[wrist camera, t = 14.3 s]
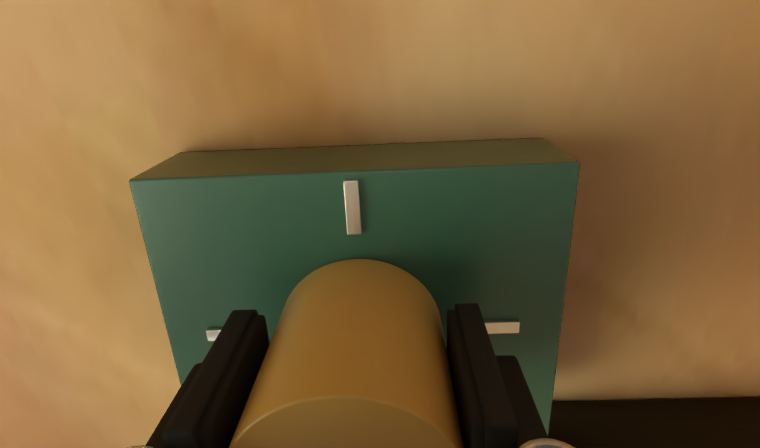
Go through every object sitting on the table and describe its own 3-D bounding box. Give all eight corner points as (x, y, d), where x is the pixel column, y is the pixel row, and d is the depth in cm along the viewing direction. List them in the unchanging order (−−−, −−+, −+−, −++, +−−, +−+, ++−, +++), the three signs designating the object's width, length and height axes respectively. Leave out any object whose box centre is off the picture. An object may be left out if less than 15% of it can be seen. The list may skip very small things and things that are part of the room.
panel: (542, 137, 14) (584, 163, 11) (521, 380, 17) (549, 451, 14) (178, 152, 14) (123, 181, 11) (227, 386, 17) (195, 457, 15)
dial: (441, 255, 12) (478, 407, 7) (441, 391, 14) (470, 592, 9) (272, 260, 12) (191, 413, 7) (291, 394, 14) (236, 594, 9)
